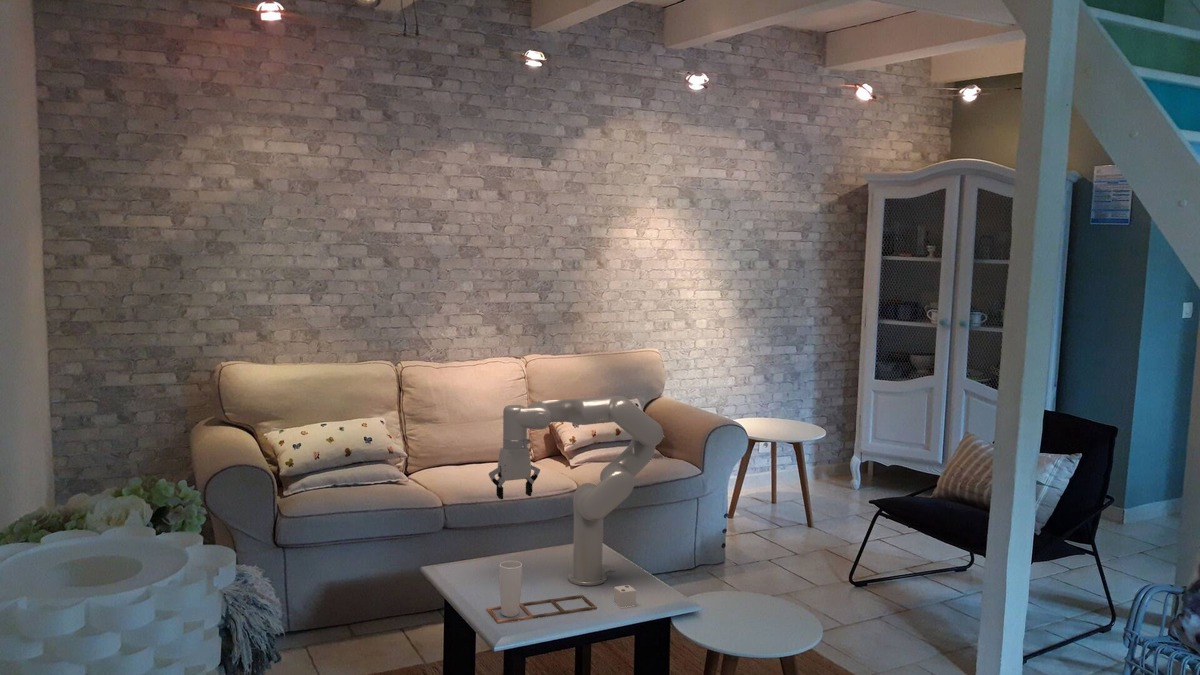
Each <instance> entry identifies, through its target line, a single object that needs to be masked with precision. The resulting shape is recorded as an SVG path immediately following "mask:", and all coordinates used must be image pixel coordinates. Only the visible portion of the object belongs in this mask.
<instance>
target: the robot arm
mask: <svg viewBox="0 0 1200 675" xmlns="http://www.w3.org/2000/svg"><path fill="white" fill-rule="evenodd" d="M502 414H503V415H502V416H503V418H502V419H503V420H502V421H503V422H502V431H503V432H502V433H503V434H502V447H500V449H499V453H498V459H497V460H498V461H497V467H496V468H494V469H493V470H492V471H490V472H489V473H488V476H489V479H490V481H491V482H492V483H493V484H494V486H495V487H496V497H497V498H498V499H499V500H504V487H503V485H504V483H505V482H507V481H518V480H525V495H526V496H528V497H532V493H533V484H534V483H535V481H536V480H537V478H538V476H539V474H540V472H541V468H538V467H537V466H534V465H532V463H531V461H532V460H531V454H530V448H529V447H528V445H530V444H532V442H531V439H530V438H528V436H527V435H528V429H529V430H545V429H547V428H548V427H549V426H551V423H570V424H573V425H579V426H581V425H582V426H589V425H598V424H605V423H606V424H607V423H615V424H616V425H617V426H618V427H620V428H621V429H622V430H624V432H626V433H627V435H630V437H631V441H630V443H629V445H628V446H627V447H626V448H625V449H624V450H623V451H622V452H621V453H620V454H619V455H618V456H617V457H616V458H614V459H613V460H612V461H610V462H609V463H608V464H607V465H606V466H604V467H603V469H602V470H601V472H600V476H599V480H600V482H598V484H597V485H596V484H593V483H590V482H585V483H582V484H580V485H579V486H578V487H577V488H576V490H575V491H574V494H573V498H572V499H573V500H572V503H573V508H572V509H573V548H572V549H573V550H572V551H573V553H572V554H573V555H572V556H573V557H572V558H573V559H572V571H571V572H570V573H568V575H567V579H568V582H570V583H571V584H575V585H579V586H586V587H587V586H598V585H601V584H603V583H605V582H606V581H607V580H608V578H607V574H608V573H615V572H616V570H617V567H616V566H615V565H611V566H610V565H609V564H603V547H604V545H603V543H604V541H603V540H604V518H605V517H606V516H608V515H609V514H610V513H611V512H613V510H615V509H616V508H617V507H618V506H619V505H620V504H621V503H623V502H624V501H625V500H626V499H627V498H628V497H629V496H630V495H631V493H632V492H633V490H634V487H635V479H634V478H636V476H637V475H638V474H640V472H641V471H642V470H644V468H646V466H647V465H648V464H649V463H650V462H651V460H652V458H653V456H654V454H655V450H656V446H657V445H659V444H660V443H661V442H662V440H663V438H664V430H663V427H662V426H661V424H660V423H659V422H658V421H656V420H655V419H654V418H652V417H650V416H649V415H648V414H647V413H646V412H644V411H643V410H642V409H641V408H640V407H638V406H637V405H636V404H634V403H633V402H632V401H631V400H630V399H629V398H628V397H626V396H624V395H608V396H597V397H587V398H569V399H566V398H565V399H562V398H561V399H550V400H547V399H546V400H541V401H540V400H538V401H534V402H531V403H530V404H529V405H528V406H527V407H526V406H524V405H521V404H510V405H506V406H505V407H504V408H503V411H502ZM532 471H533V474H532ZM496 475H497V477H498V478H496Z"/></svg>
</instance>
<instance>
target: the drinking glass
mask: <svg viewBox="0 0 1200 675" xmlns="http://www.w3.org/2000/svg"><path fill="white" fill-rule="evenodd" d="M498 570H499V571H498V577H499V578H498V581H499V582H498V583H499V592H500V594H499V596H500V606H501V609H500V614H501V615H502V616H504V617H507V618H508V617H509V618H514V617H516V616H518V615H519V614H520V607H519V605H520V603H521V595H522V594H521V593H522V583H523V563H522V562H520V561H518V560H505V561H502V562H500V564H499V569H498Z"/></svg>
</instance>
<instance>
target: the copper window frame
mask: <svg viewBox="0 0 1200 675" xmlns="http://www.w3.org/2000/svg"><path fill="white" fill-rule="evenodd" d="M577 598H578V599H581V598H582V599H583V600H584V601H583V600H582V599H581V600H582V601H583V602H584V603H585V604H587V606H586V607H581V608H572V609H566V610H565V609H564V608H563V607H562V606H560V605H559V603H558V602H561V601H569V600H577ZM549 603H551V604H552V605H553V607H555V608H556V610H558V611H552V612H545V613H539V614H533V613H531V611H530V610H529V609H528V608H527V607H528V606H533V605H542V604H549ZM526 606H527V607H526ZM590 606H591V607H590ZM519 609H521V610H522V611H523V612H524V613H525V614H526V615H525V616H524V615H523V616H518V617H509V618H504V619H500V618H499V617H498V616H497V614H496V613H495V612H494V611H498V610H500V611H501V605H499V606H491V607H486V609H485V611H486V612H487V613H488V614H489V615H490V616H491V618H492V619H493V618H494V619H493V620H494V621H495V622H496V623H497V624H498V623H499V624H504V622H506V623H511V622H512V621H513V622H519V621H518V620H520V621H525V620H524V619H527V620H532V618H533V619H538V617H540V618H546V616H547V617H552V616H558V615H566V614H567V615H568V614H572V613H578V612H580V611H581V612H586V610H587V611H593V610H592V609H594V610H597V609H598V607H597V606H596V605H595V604H594V603H593V602H592V601H590V600H589V598H587V597H586V596H585V595H583V594H579V595H578V594H577V595H571V596H563V597H558V598H557V597H556V598H550V599H549V598H548V599H544V600H543V599H542V600H535V601H527V602H520V605H519ZM492 610H493V611H492Z"/></svg>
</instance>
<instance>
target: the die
mask: <svg viewBox="0 0 1200 675" xmlns="http://www.w3.org/2000/svg"><path fill="white" fill-rule="evenodd" d="M614 602H615V603H616V604H617V605H618V606H620V607H625V606H626V607H627V606H632V605H636V606H637V603H636V602H637V590H636V589H635V588H634V587H632V586H631V585H630V584H627V585H619V586H614V588H613V603H614ZM615 603H614V604H615ZM616 604H615V605H616ZM617 605H616V606H617ZM618 606H617V607H618ZM620 607H619V608H620ZM627 608H628V607H627Z"/></svg>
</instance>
